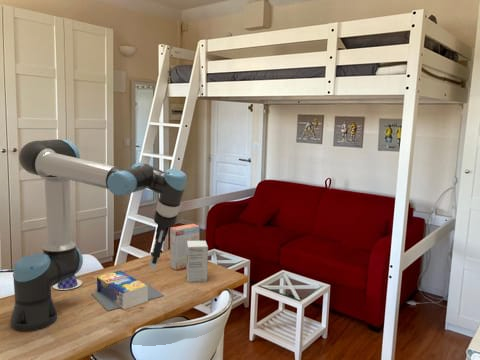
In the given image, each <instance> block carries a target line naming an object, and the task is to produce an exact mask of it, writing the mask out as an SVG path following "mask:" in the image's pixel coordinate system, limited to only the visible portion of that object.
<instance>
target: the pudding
mask: <svg viewBox="0 0 480 360" xmlns="http://www.w3.org/2000/svg"><path fill="white" fill-rule="evenodd" d="M82 284H83V281H82V280H80V279H77V278H76V274H75V275H73V276H72V277H70V278H68V279H65V280H63V281H61V282H59V283H57V284H55V285H53V286H52V288H53V289H55V290H61V291H65V290H66V291H67V290H73V289H76V288H78V287H80V286H82ZM59 288H60V289H59Z"/></svg>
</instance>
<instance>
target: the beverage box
mask: <svg viewBox="0 0 480 360" xmlns="http://www.w3.org/2000/svg"><path fill="white" fill-rule="evenodd" d="M142 282H143V281H140V279H139V280H138V279H137V278H134V277H133V276H131V275H130V274H127V273H126V272H124V271H122V270H117V271H113V272H109V273H105V274H102V275H97V276H96V287H97V288H96V290H97V292H96V293H98V292H100V293H102V294H103V295H105V296H106V297H108V298H109V299H110V300H112V301H113V302H115V303H116V304H118V305H119V306H121V308H120V309H122V310H126V309H130V308H133V307H135V306H139V305H142V304H143V303H146V302H148V301H149V300H148V285H146V284H144V283H142Z"/></svg>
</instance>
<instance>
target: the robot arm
mask: <svg viewBox="0 0 480 360" xmlns="http://www.w3.org/2000/svg"><path fill="white" fill-rule="evenodd" d="M80 155H81V154H80V151H79V149H78V147H77V146H76V145H75V144H74V143H73V142H71V141H70V140H68V139H60V138H59V139H45V140H43V139H42V140H32V141H29V142H27V143H26V144H25V145H23V147H21V149H20V152H19V153H18V162H19V164H20V166H21V168H22V169H23V170H24V171H25V172H27V173H29V174H31V175H35V176H39V177H40V178H41V179H42V180H43V181H44V193H45V218H46V242H47V243H45V245H44V246H43V247H42V250H43V253H33V254H29V255H25V256H23V257H20V258H19V259H17V261H16V262H15V263H14V264H13V273H12V278H13V289H14V307H13V309H12V313H11V316H10V320H9V322H10V324H9V325H10V328H11V329H12V330H14V331H18V332H34V331H38V330H42V329H44V328H47V327H49V326H51V325H53V324H54V323H55V322H56V321H57V320H58V310H57V308H56V306H55V303H54V301H53V298H52V287H53V285H55V284H57V283H59V282H61V281H63V280H65V279H68V278H70V277H72V276H73V275H75V276H76V274H77V273H78V272H80V270H81V268H82V267H83V265H84V264H83V263H84V259H83V254H82V252H81V251H80V249H79V248H78V247H77V243H75V242H74V241H73V240H72V239H73V237H72V236H73V235H72V213H71V212H72V210H71V209H72V208H71V181H73V182H76V183H77V182H78V183H81V184H86V185H89V186H93V187H98V188H102V189H105V190H109V191H110V192H111V193H112V195H114V196H128V195H130V194H133V193H136V192H139V191H143V190H147V189H148V190H149V191H152V192H155V193H157V194H159V198H158V200H157V203H156V208H155V213H154V217H153V221H154V223H155V225H157V228H156V230H155V232H156V234H155V244H154V248H153V251H150V254H149V255H151V259H150V261H149V266H148V270H152V271H157V268H158V264H159V261H160V257H161V254H163V251H164V250H162V249H163V248H162V247H163V244H164V242H165V240H166V237H167V235H168V233H169V230H170V228H171V227H175V225H176V222H177V219H178V213H179V210H181V209H182V206H181V203H182V200H183V195H184V192H185V189H186V184H187V178H188V177H187V174H186V173H185V172H184V171H182V170H180V169H176V168H169V169H166V170H165V171H163V170H162V169H159V168H156V167H154V166H151V165H150V164H148V163H145V162H142V161H137V162H135V164H133V165H132V166H131V168H129V169H128V168H127V169H126V168H123V167H117V166H113V165H111V164H110V165H109V164H105V163H100V162H96V161H91V160H87V159H83V158H81V156H80Z"/></svg>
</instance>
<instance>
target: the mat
mask: <svg viewBox="0 0 480 360" xmlns="http://www.w3.org/2000/svg"><path fill="white" fill-rule="evenodd" d="M141 282H142V283H144V284H146V285H148V301H151V300H154V299H155V300H156V299H159V298H162V297H165V295H164V294H163V293H161V292H160V291H159V290H158V289H156V288H155V287H153V285H151V284H150V283H148V282H147V281H141ZM91 296H92V297H93V298H94V299H95V300H96V301H97V302H98V303H99V304H100V305H101V306H102V307H103V308H104V309H105V311H106V312H110V311H114V310H119V309H122V308H121V306H119V305H118V304H116V303H115V302H113V301H112V300H110V299H109V298H108V297H106V296H105V295H103V294H102V293H100V292H94V293H91Z"/></svg>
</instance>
